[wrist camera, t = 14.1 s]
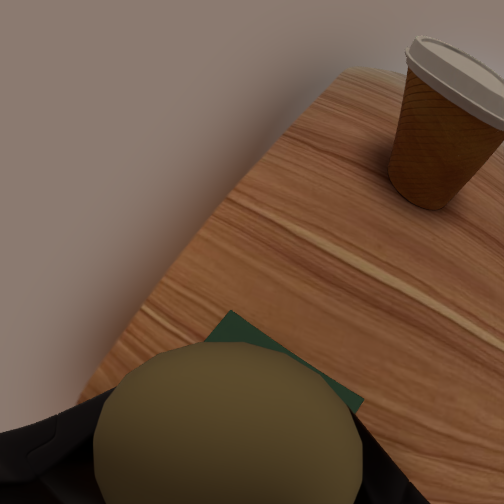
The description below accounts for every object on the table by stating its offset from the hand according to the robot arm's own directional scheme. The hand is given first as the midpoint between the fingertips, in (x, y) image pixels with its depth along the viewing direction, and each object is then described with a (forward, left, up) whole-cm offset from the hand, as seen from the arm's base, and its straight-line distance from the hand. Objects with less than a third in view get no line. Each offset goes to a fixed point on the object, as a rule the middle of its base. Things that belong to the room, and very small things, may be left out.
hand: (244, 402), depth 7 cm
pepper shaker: (-1, -1, -7) cm, 7 cm away
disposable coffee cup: (+21, -2, -7) cm, 23 cm away
